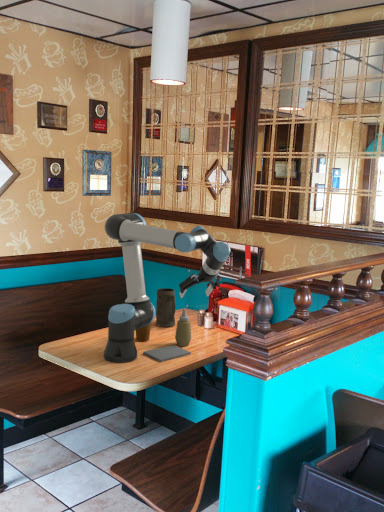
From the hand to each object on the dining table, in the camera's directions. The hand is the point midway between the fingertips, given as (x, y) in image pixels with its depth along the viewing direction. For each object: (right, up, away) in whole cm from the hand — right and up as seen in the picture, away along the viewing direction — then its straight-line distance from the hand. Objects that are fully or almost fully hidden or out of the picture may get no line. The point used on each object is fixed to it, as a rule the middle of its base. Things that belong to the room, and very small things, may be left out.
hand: (193, 294), depth 249 cm
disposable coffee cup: (-26, -24, +18) cm, 39 cm away
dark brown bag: (-14, -21, +44) cm, 50 cm away
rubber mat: (-12, -28, -1) cm, 30 cm away
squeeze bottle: (-5, -26, +13) cm, 30 cm away
